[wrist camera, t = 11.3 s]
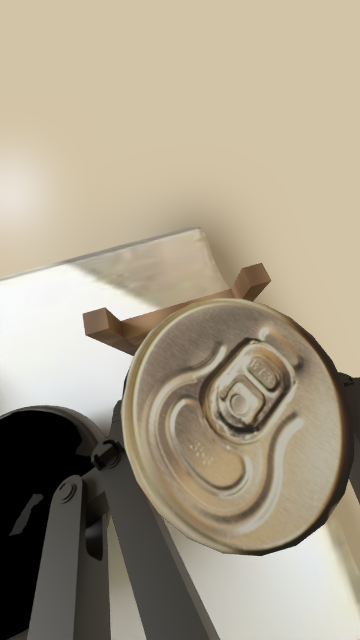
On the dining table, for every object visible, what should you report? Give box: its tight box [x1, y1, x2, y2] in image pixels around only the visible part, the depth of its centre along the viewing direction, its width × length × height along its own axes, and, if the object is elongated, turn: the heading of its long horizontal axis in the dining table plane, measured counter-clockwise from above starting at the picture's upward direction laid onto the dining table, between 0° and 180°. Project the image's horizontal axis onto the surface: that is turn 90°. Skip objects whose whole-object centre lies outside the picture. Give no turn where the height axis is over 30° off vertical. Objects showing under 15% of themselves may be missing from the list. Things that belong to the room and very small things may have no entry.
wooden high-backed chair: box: [83, 263, 271, 356], centre depth 23 cm, size 17×14×20 cm
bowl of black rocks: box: [0, 405, 111, 640], centre depth 20 cm, size 20×20×19 cm
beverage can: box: [120, 298, 354, 556], centre depth 13 cm, size 9×9×12 cm
